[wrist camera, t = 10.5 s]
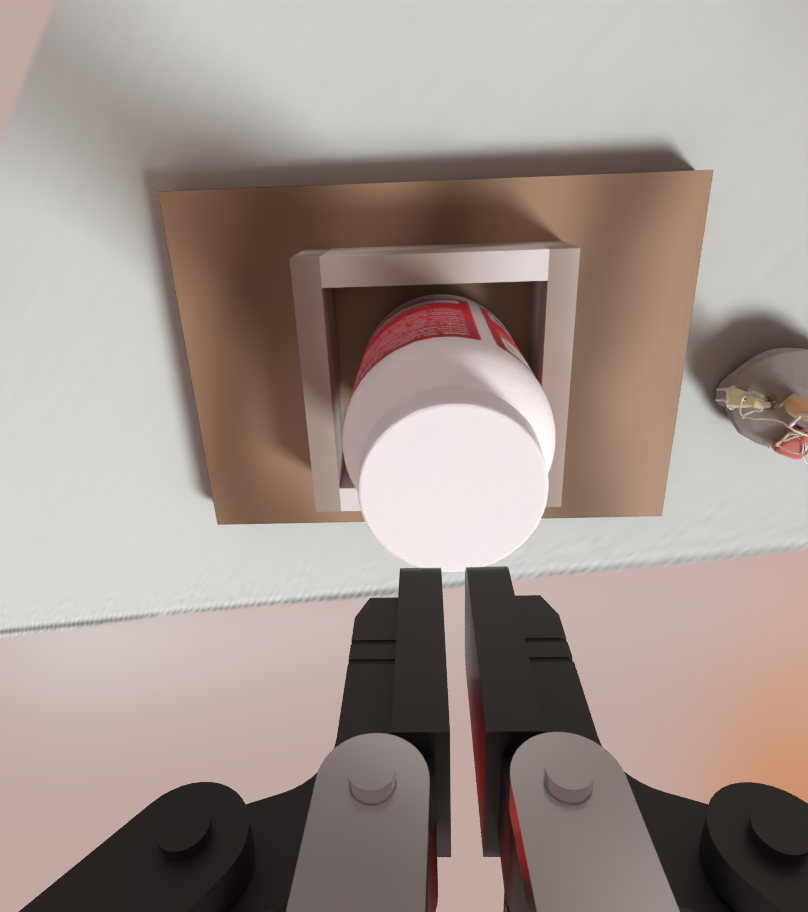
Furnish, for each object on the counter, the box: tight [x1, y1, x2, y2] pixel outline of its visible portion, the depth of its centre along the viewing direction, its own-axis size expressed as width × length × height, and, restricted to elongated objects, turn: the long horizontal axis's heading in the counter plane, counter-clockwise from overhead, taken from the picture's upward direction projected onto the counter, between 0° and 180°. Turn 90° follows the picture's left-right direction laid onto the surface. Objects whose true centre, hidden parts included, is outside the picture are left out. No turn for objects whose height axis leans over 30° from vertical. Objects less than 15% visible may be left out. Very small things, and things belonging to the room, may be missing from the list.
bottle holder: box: [158, 170, 713, 525], centre depth 24 cm, size 20×14×4 cm
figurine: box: [715, 348, 808, 464], centre depth 24 cm, size 5×4×6 cm
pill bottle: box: [342, 294, 555, 572], centre depth 20 cm, size 6×6×11 cm
